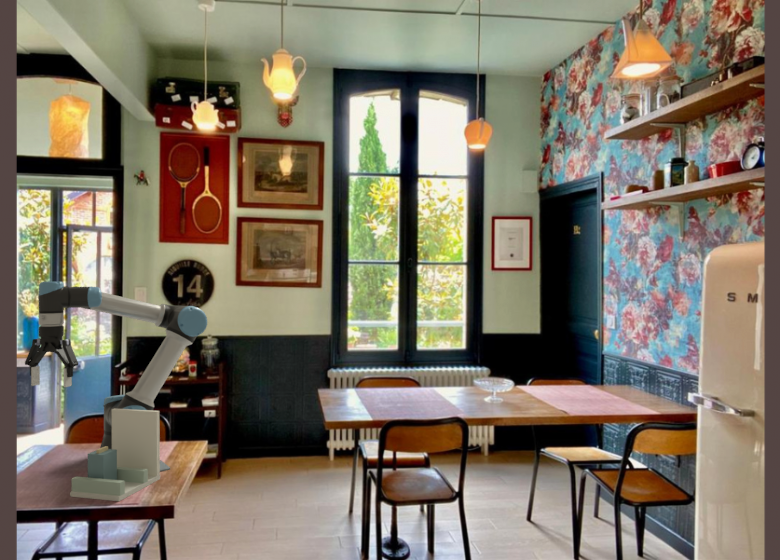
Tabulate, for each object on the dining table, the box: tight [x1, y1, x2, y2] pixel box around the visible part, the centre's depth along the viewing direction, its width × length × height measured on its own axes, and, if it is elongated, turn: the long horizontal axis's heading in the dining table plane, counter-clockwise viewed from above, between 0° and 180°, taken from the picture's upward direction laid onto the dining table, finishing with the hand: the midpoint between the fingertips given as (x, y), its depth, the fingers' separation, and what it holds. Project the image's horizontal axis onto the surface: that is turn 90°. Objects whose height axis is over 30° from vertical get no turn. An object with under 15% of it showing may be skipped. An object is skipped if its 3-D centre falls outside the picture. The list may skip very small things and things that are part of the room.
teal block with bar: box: [87, 446, 117, 480], centre depth 180 cm, size 6×6×12 cm
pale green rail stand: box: [69, 409, 161, 502], centre depth 182 cm, size 20×18×24 cm
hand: (51, 385), depth 193 cm, fingers open, 13 cm apart
